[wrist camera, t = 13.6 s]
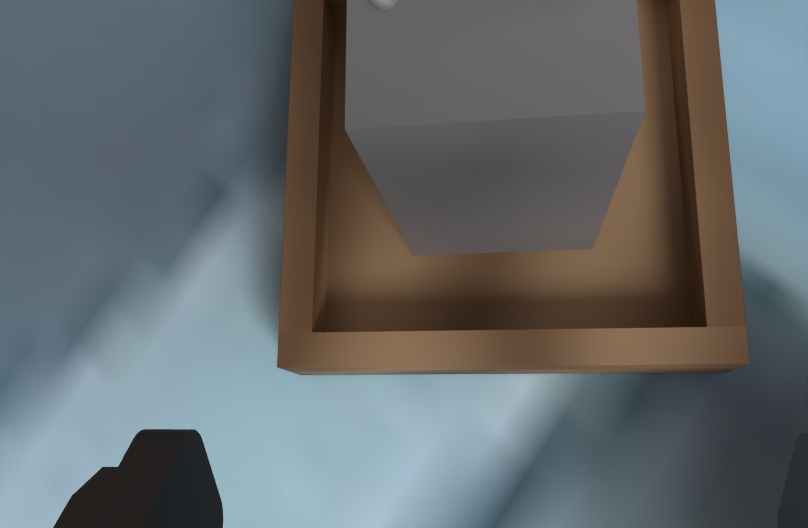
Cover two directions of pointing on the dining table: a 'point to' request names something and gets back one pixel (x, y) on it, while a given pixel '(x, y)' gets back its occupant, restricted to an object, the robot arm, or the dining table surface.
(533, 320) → the tray
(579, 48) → the grey rectangular block
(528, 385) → the dining table surface
